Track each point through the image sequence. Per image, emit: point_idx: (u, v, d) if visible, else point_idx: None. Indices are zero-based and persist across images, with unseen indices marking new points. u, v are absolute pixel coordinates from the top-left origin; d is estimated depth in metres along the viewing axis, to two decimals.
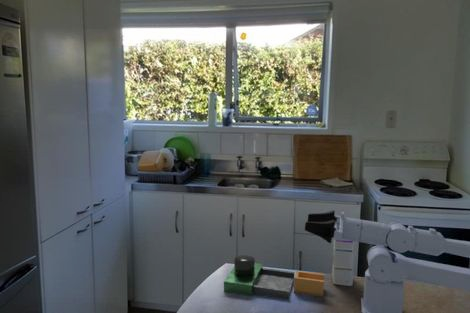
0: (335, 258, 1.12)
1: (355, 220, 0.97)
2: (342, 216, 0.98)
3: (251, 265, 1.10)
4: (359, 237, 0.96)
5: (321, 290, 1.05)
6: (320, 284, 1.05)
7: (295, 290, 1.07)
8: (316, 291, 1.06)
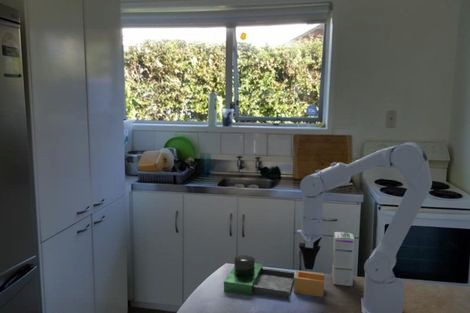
0: (335, 258, 1.12)
1: None
2: (299, 233, 1.06)
3: (251, 265, 1.10)
4: (315, 220, 1.03)
5: (321, 290, 1.05)
6: (320, 284, 1.05)
7: (295, 290, 1.07)
8: (316, 291, 1.06)
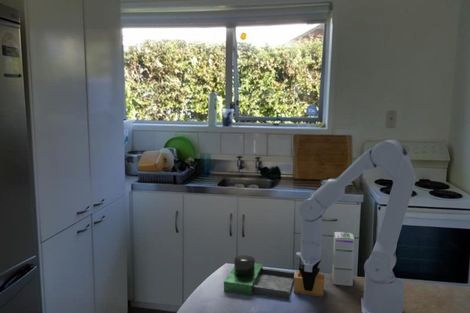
0: (335, 258, 1.12)
1: (301, 244, 1.07)
2: (298, 255, 1.07)
3: (251, 265, 1.10)
4: (313, 243, 1.04)
5: (321, 290, 1.05)
6: (320, 283, 1.05)
7: (295, 290, 1.07)
8: (316, 290, 1.06)
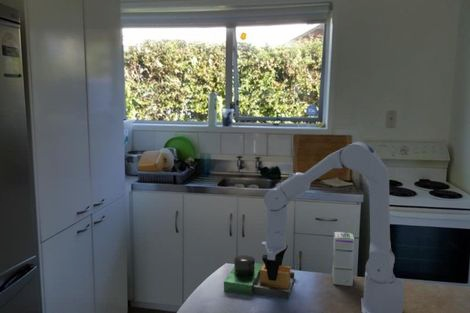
0: (335, 258, 1.12)
1: (266, 234, 1.09)
2: (263, 245, 1.10)
3: (251, 265, 1.10)
4: (277, 232, 1.06)
5: (286, 282, 1.08)
6: (285, 276, 1.07)
7: (261, 282, 1.10)
8: (281, 282, 1.08)
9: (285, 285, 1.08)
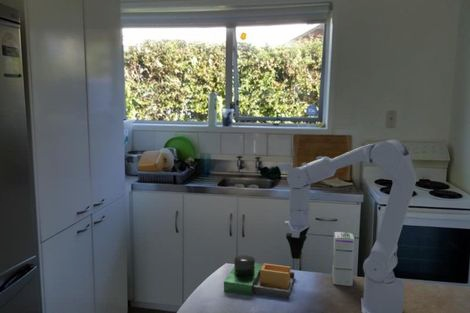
0: (335, 258, 1.12)
1: (289, 212, 1.10)
2: (286, 223, 1.10)
3: (251, 265, 1.10)
4: (301, 211, 1.07)
5: (286, 282, 1.08)
6: (285, 276, 1.07)
7: (261, 282, 1.10)
8: (281, 282, 1.08)
9: (285, 285, 1.08)
